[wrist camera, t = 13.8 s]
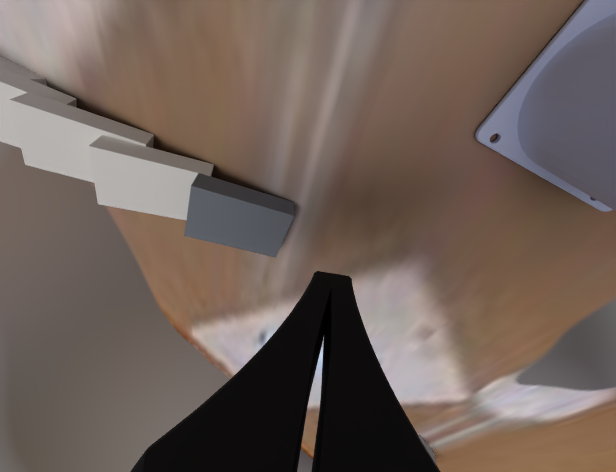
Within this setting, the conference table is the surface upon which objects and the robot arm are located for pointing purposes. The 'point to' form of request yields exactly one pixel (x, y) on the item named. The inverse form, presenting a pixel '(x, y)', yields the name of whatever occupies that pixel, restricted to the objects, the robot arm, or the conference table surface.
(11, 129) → the tile
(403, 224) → the conference table surface
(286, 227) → the tile
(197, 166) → the tile
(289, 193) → the conference table surface
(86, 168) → the tile
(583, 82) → the robot arm
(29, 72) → the tile
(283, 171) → the conference table surface
